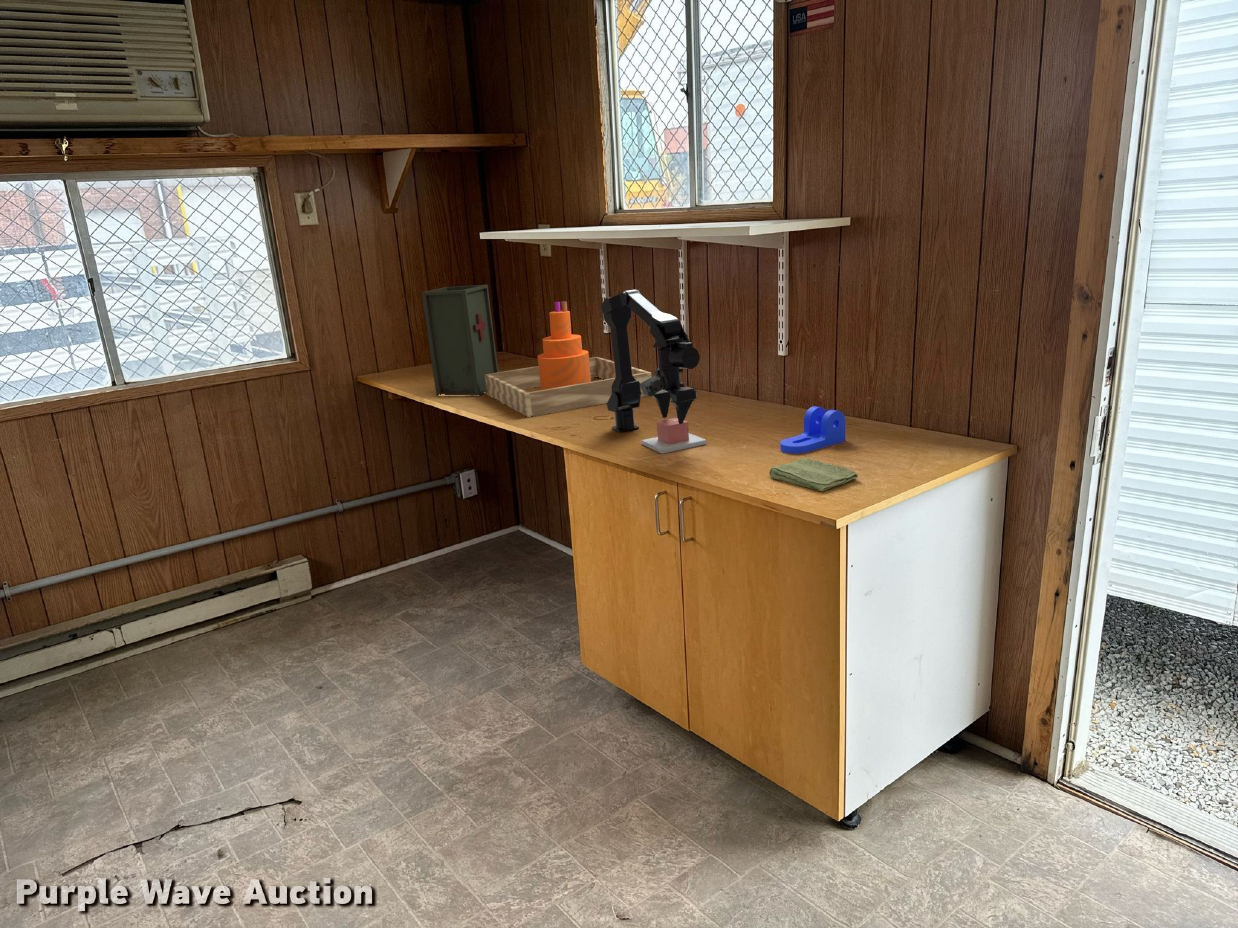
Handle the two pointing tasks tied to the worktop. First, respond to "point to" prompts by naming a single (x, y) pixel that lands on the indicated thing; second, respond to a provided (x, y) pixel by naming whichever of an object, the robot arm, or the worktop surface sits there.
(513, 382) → the storage crate
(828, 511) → the worktop surface
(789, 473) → the washcloth
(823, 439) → the bracket
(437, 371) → the first aid box
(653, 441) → the peg base plate
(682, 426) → the pink slotted box
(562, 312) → the cake
